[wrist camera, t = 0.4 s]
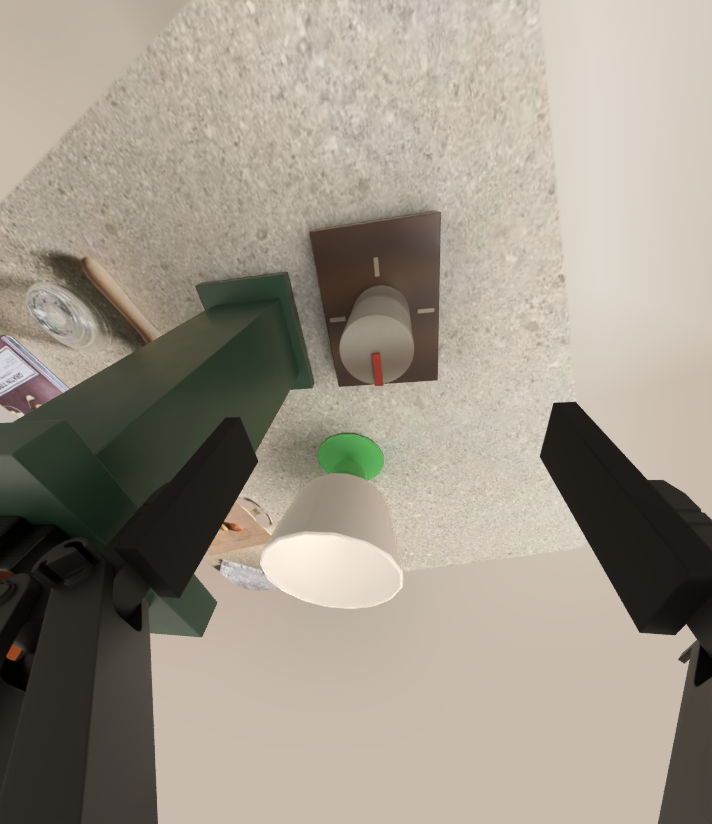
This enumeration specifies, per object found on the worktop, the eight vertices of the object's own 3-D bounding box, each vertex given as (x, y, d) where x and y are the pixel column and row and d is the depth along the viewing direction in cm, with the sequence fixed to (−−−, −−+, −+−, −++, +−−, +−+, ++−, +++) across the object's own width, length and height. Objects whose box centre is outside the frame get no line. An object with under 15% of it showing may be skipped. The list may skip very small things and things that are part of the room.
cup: (321, 496, 47) (293, 610, 34) (285, 427, 39) (232, 538, 26) (409, 486, 43) (416, 608, 30) (388, 409, 36) (385, 526, 23)
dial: (348, 288, 26) (332, 320, 19) (408, 281, 25) (413, 311, 18) (356, 344, 28) (344, 389, 22) (410, 339, 28) (415, 384, 21)
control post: (201, 283, 30) (-311, 501, 8) (287, 271, 28) (-58, 500, 7) (242, 388, 36) (21, 660, 15) (314, 383, 35) (184, 677, 13)
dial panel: (317, 229, 26) (308, 232, 23) (436, 210, 24) (441, 211, 22) (342, 373, 34) (338, 387, 31) (434, 366, 32) (437, 381, 30)
